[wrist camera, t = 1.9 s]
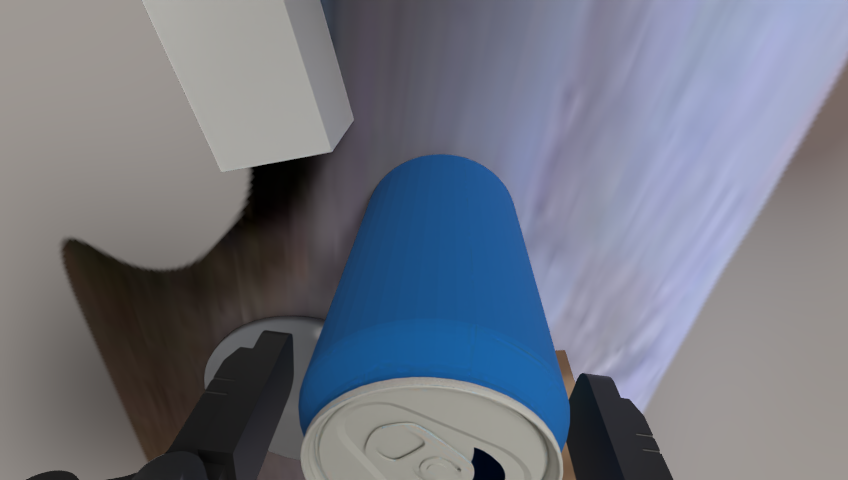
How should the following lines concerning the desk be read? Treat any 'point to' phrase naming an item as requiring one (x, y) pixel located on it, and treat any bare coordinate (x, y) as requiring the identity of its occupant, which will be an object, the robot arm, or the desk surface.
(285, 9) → the white block
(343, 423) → the beverage can
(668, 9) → the desk surface
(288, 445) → the coaster
